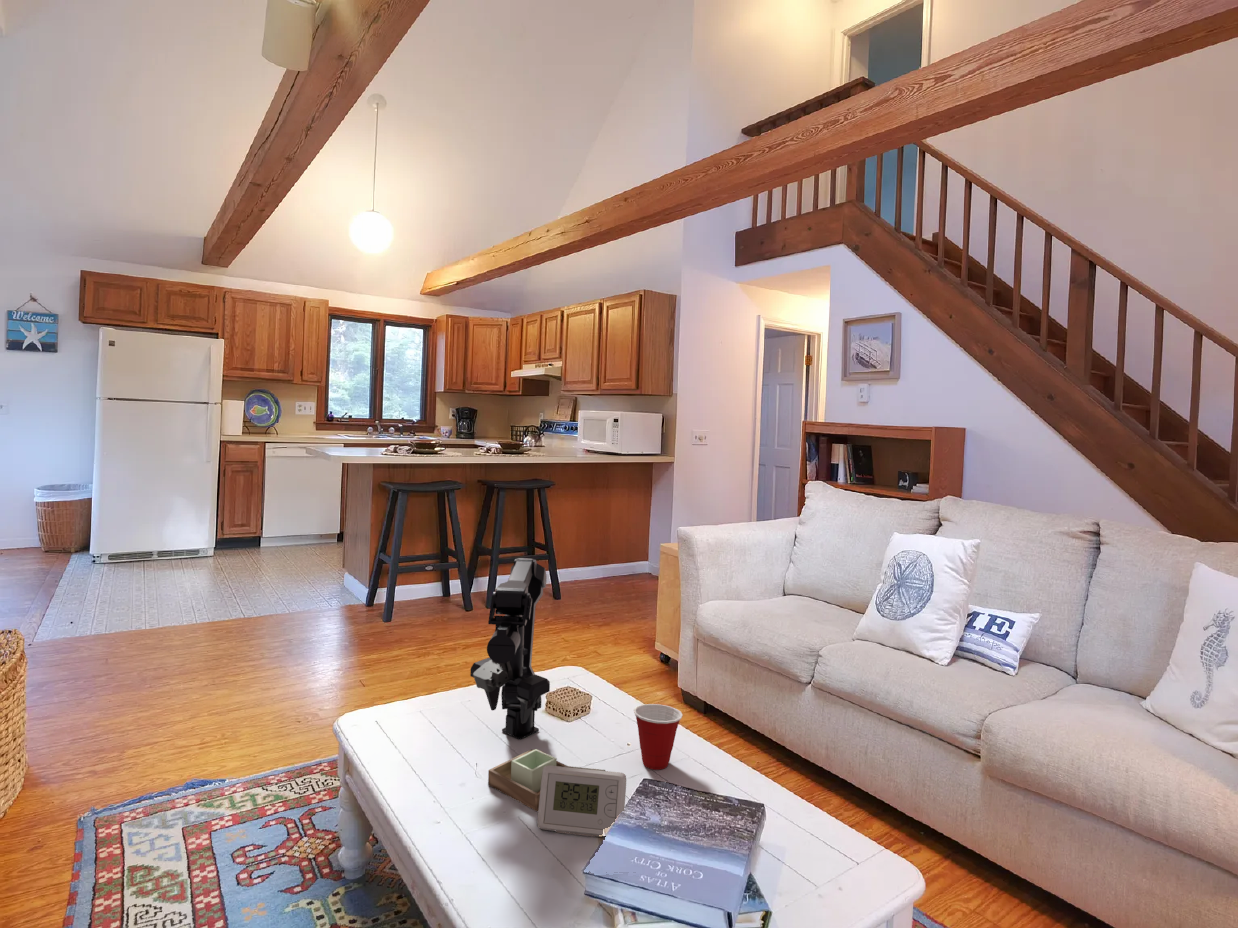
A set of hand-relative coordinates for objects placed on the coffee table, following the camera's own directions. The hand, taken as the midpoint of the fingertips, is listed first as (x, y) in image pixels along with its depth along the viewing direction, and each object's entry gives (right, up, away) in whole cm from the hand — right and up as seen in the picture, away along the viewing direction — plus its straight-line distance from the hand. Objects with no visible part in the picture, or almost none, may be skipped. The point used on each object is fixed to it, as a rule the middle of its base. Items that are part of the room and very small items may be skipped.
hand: (508, 716), depth 149 cm
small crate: (+6, -12, -6) cm, 14 cm away
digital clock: (+17, -14, -20) cm, 29 cm away
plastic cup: (+32, -13, +6) cm, 35 cm away
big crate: (+6, -12, -6) cm, 15 cm away
